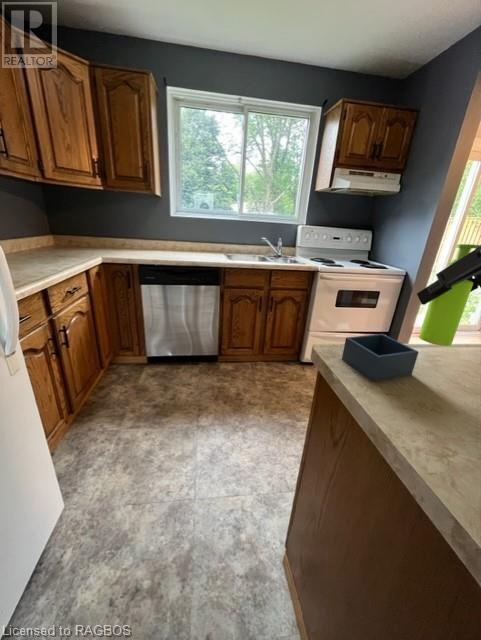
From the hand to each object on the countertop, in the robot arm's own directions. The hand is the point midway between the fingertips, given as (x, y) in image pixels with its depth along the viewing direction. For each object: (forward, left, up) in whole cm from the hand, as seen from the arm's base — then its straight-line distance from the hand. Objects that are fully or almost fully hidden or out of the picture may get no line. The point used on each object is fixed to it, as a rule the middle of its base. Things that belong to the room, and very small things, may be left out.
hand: (433, 298), depth 58 cm
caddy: (+2, -8, -21) cm, 23 cm away
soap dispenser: (0, +4, -9) cm, 9 cm away
